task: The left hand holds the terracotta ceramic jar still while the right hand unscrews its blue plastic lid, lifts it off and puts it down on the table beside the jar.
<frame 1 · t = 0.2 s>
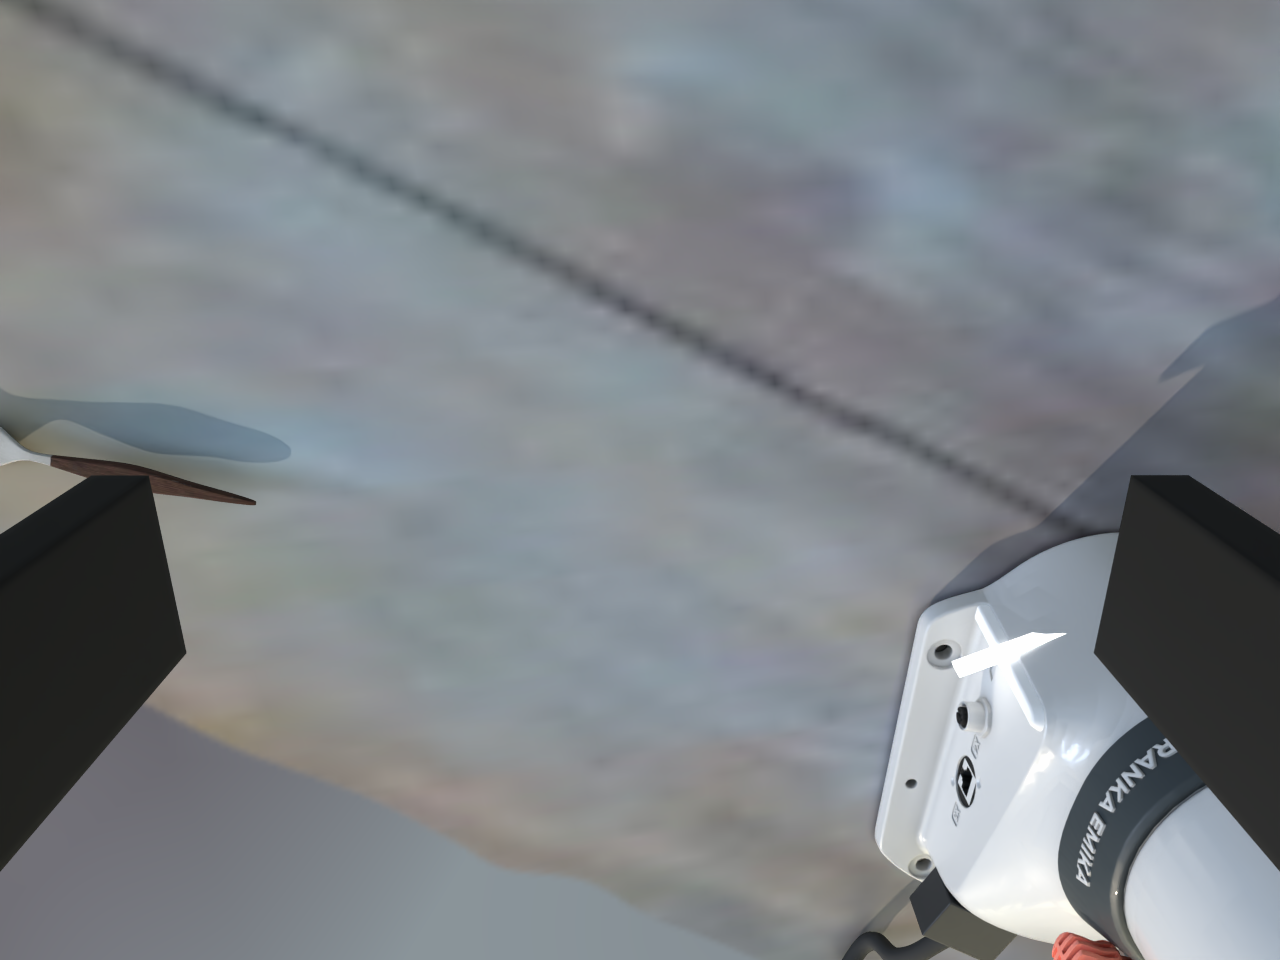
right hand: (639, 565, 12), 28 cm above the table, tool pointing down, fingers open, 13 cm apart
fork: (86, 460, 42), on the table
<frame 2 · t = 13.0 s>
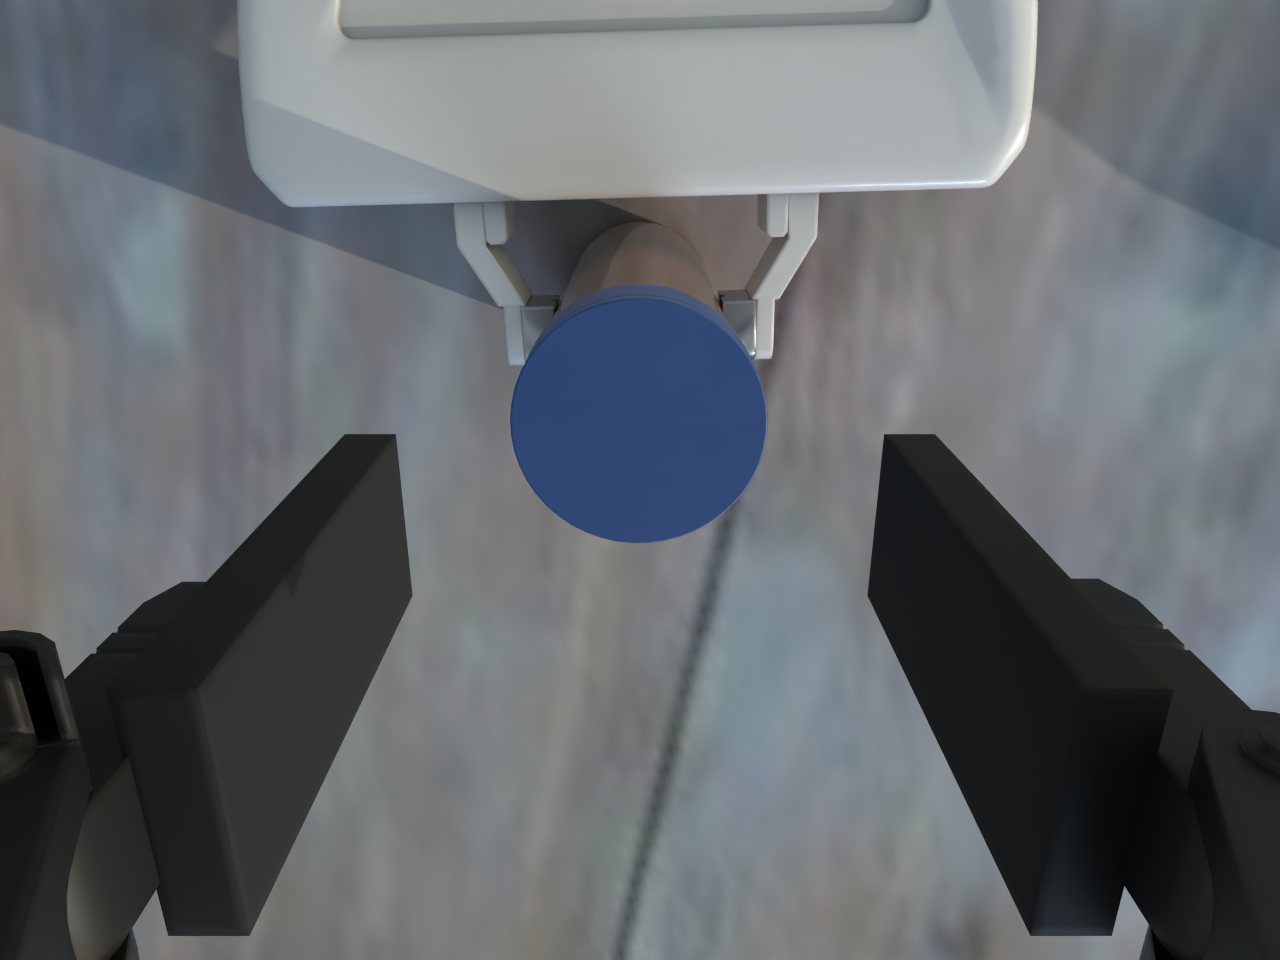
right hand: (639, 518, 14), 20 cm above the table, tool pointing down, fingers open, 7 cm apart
left hand: (641, 358, 27), fingers closed on jar, 5 cm apart
jar: (639, 290, 33), on the table, touching left hand
lid: (639, 421, 18), point 15 cm above the table, screwed on, not yet turned
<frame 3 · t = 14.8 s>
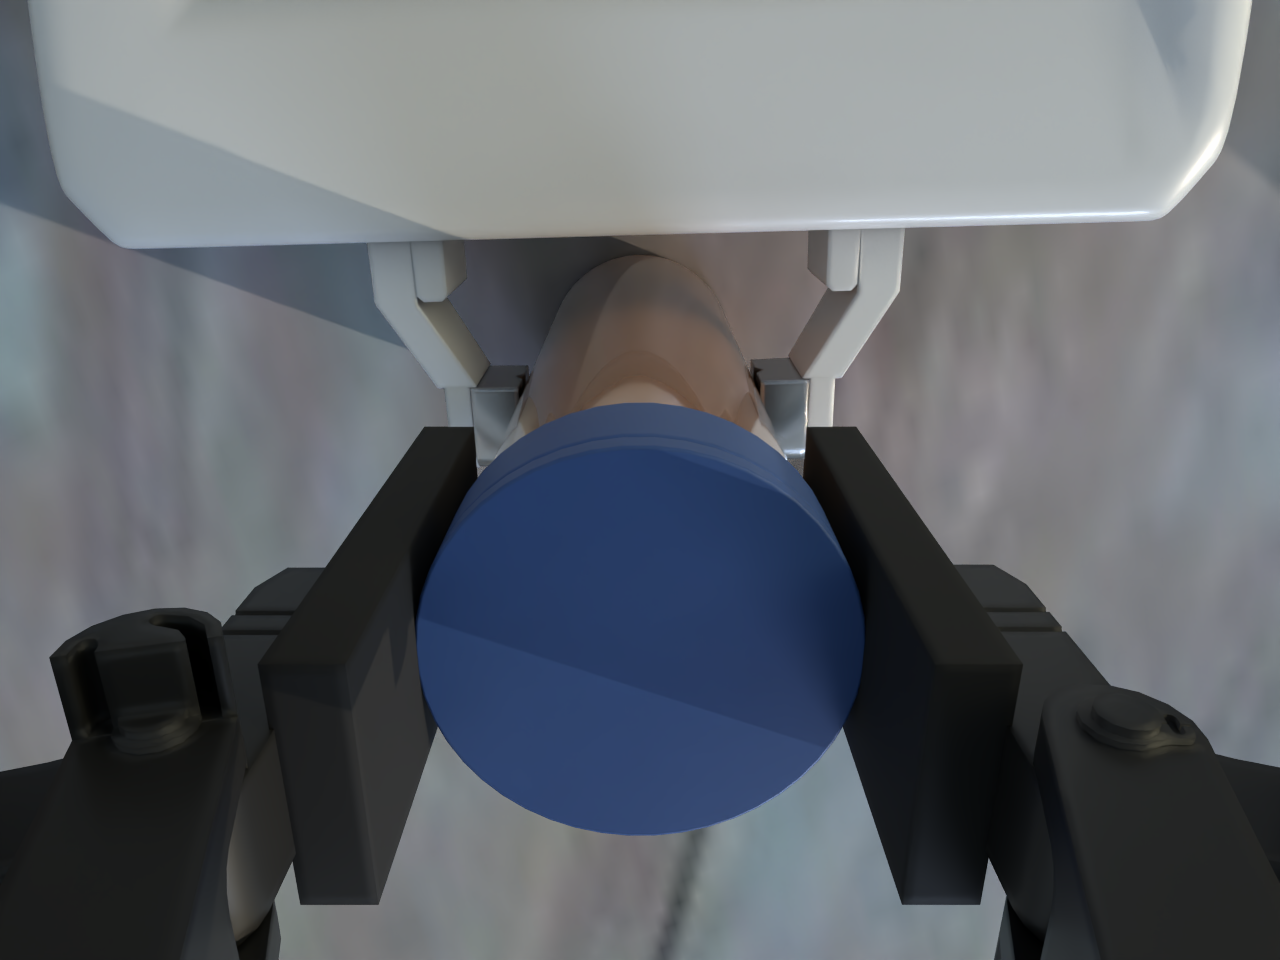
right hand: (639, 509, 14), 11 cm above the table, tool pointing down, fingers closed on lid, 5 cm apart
left hand: (643, 454, 19), fingers closed on jar, 5 cm apart
jar: (640, 344, 25), on the table, touching left hand
lid: (640, 643, 11), point 15 cm above the table, screwed on, not yet turned, touching right hand
when the right hand's fingers open (12 cm above the table, at t = 16.2 s): lid stays where it is, point 16 cm above the table.
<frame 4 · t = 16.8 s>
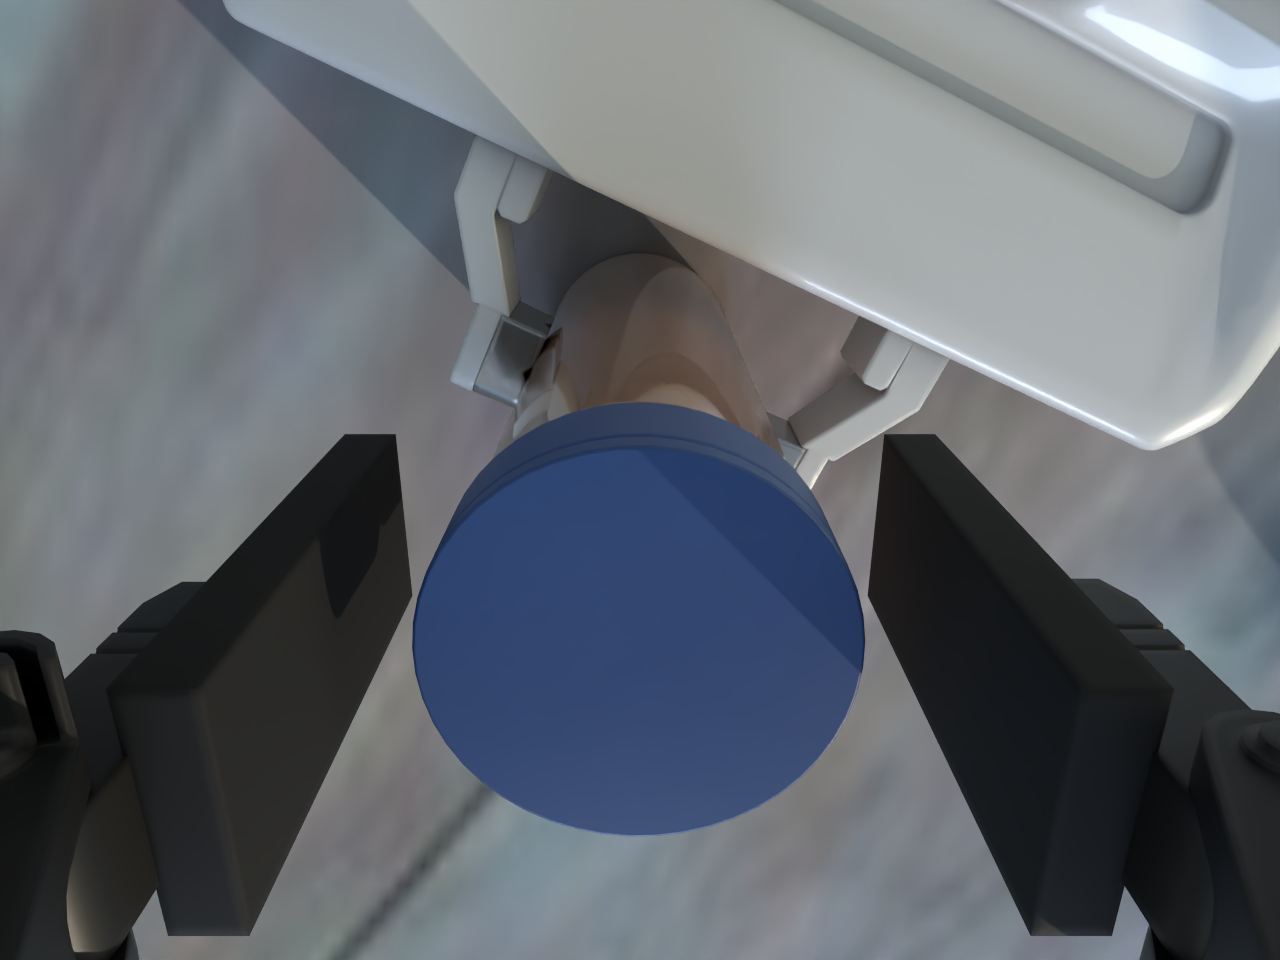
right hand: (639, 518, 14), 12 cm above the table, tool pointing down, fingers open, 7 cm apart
left hand: (623, 448, 19), fingers closed on jar, 5 cm apart
jar: (639, 342, 25), on the table, touching left hand
lid: (638, 643, 11), point 16 cm above the table, turned 87° so far, risen 0.2 cm, still on its thread
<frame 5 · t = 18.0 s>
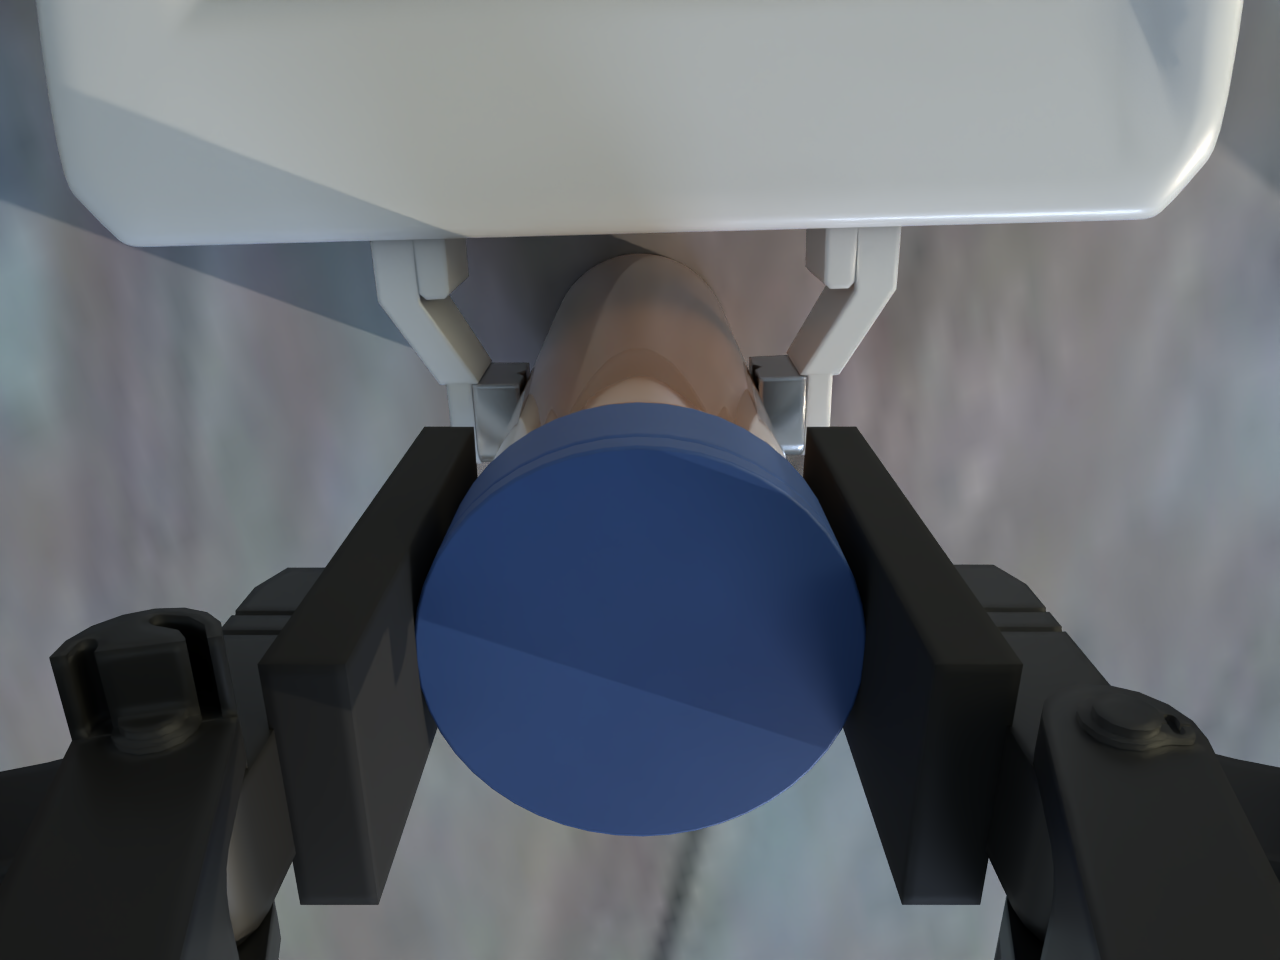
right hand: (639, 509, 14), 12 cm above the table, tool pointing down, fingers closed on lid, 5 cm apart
left hand: (643, 451, 19), fingers closed on jar, 5 cm apart
jar: (640, 342, 25), on the table, touching left hand
lid: (640, 643, 11), point 16 cm above the table, turned 87° so far, risen 0.2 cm, still on its thread, touching right hand
when the right hand's fingers open (0 cm above the table, at t = 24.5 s): lid drops 3 cm, point 1 cm above the table.
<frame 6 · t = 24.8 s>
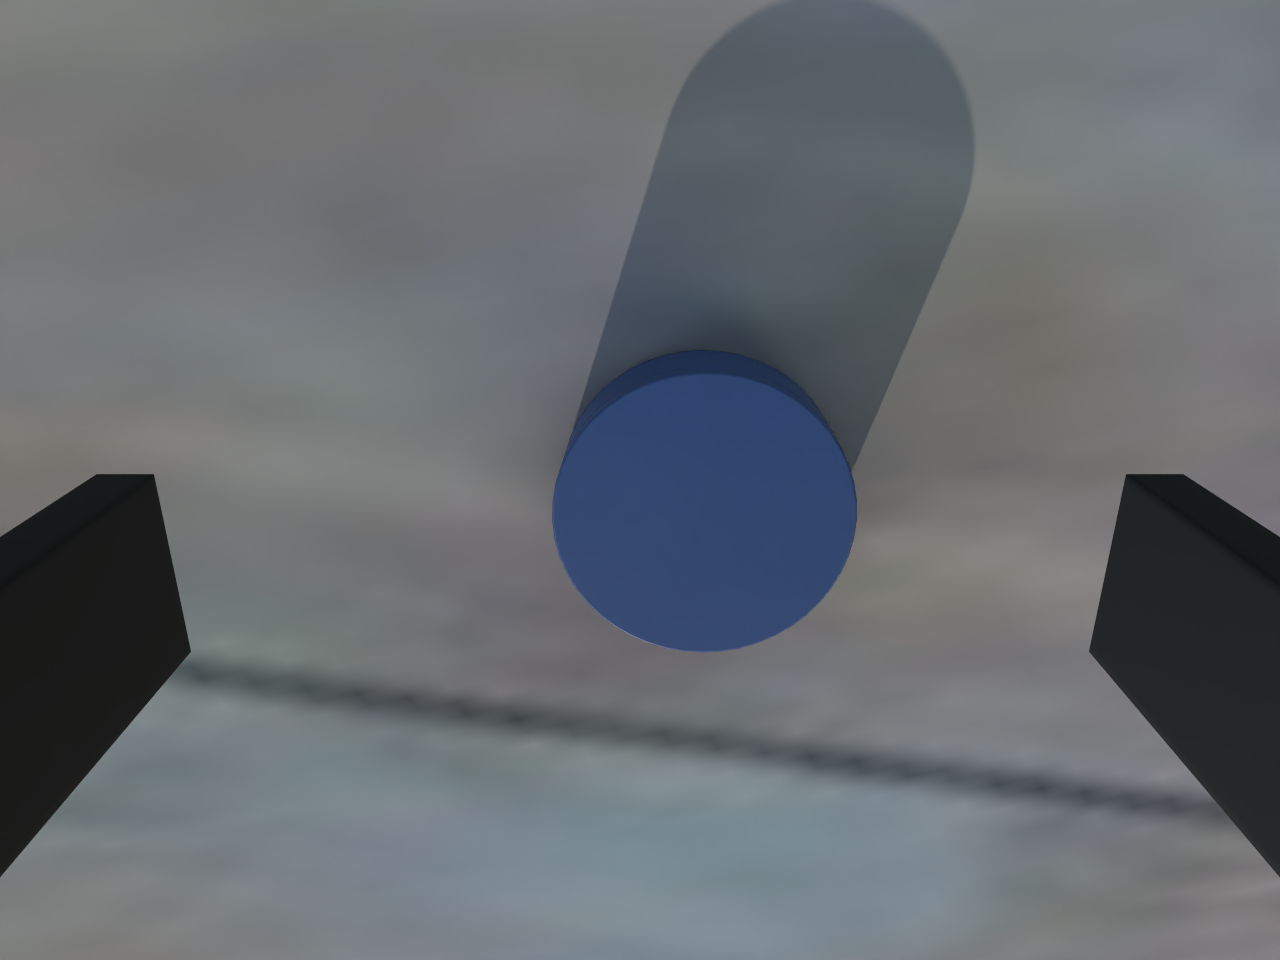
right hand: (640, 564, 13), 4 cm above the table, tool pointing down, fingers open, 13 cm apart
lid: (703, 512, 16), point 1 cm above the table, off its thread
when the left hand's fingers open (6 cm above the table, at t = 25.2 s): jar stays where it is, on the table.
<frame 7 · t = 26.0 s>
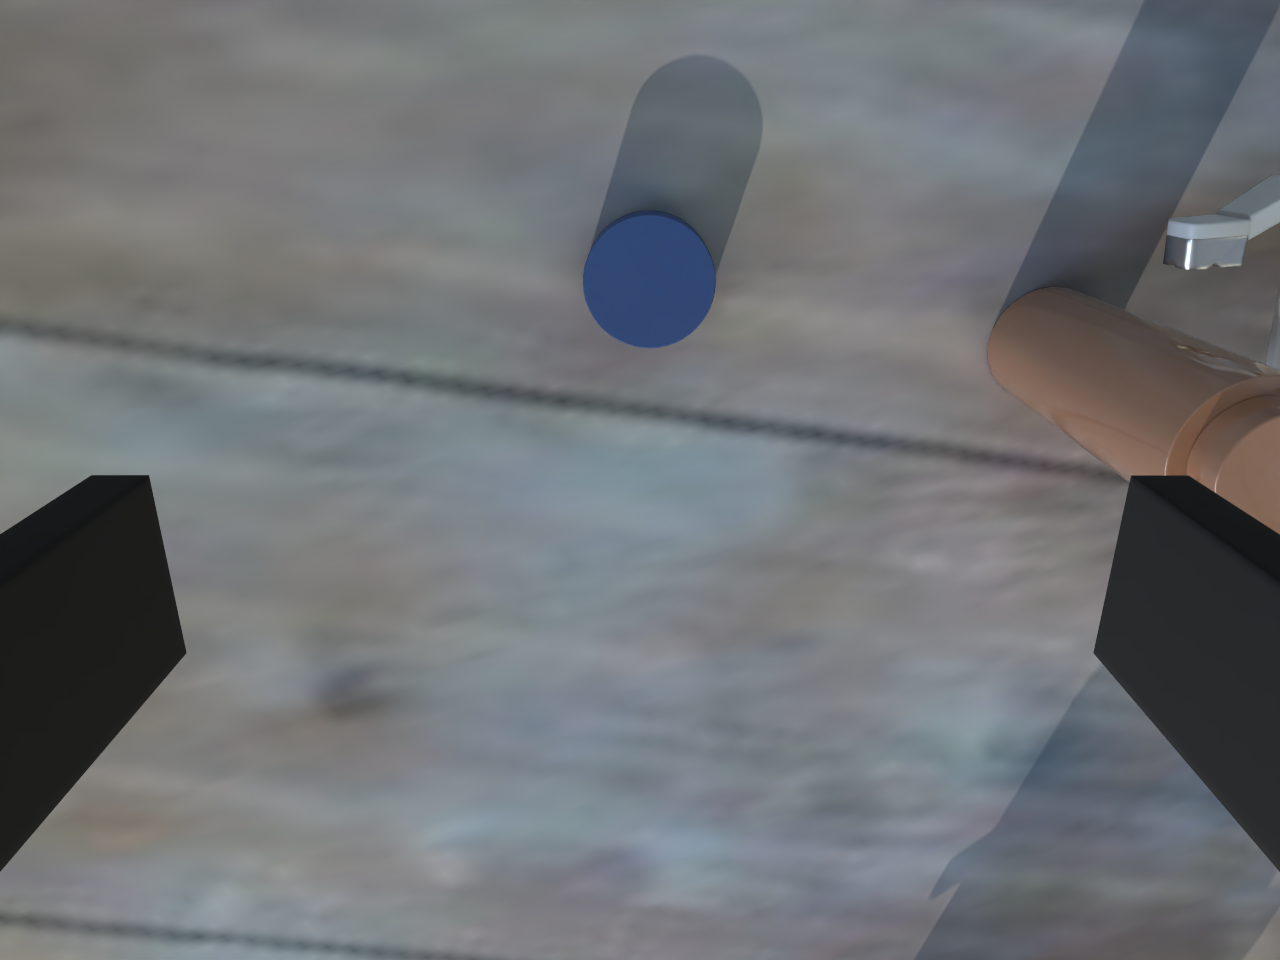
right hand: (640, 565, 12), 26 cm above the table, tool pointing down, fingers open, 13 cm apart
jar: (1045, 344, 38), on the table
lid: (649, 281, 36), point 1 cm above the table, off its thread
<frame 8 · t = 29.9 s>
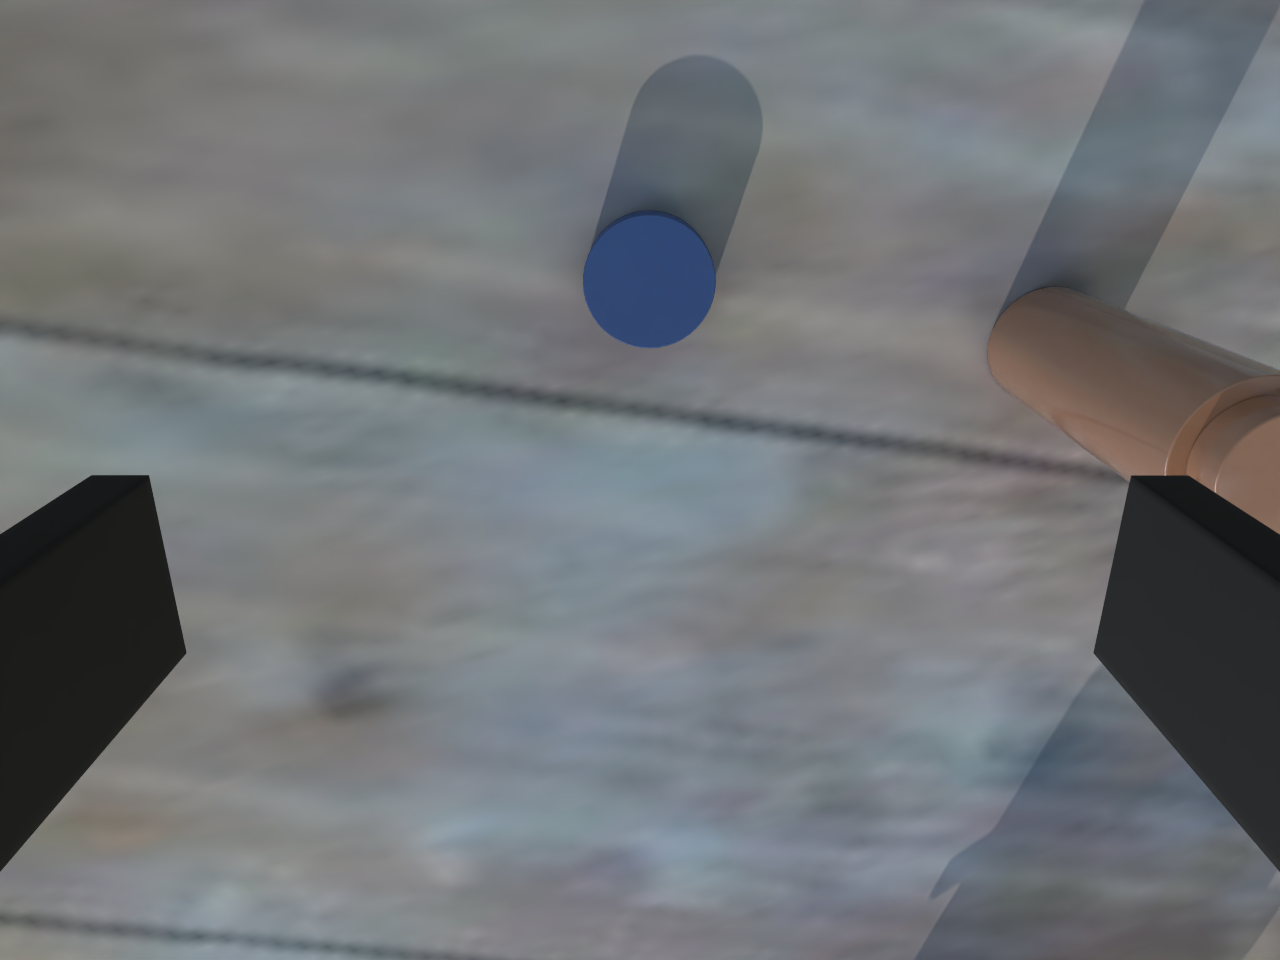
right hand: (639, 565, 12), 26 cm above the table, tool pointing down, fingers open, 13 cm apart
jar: (1045, 344, 38), on the table
lid: (649, 281, 36), point 1 cm above the table, off its thread
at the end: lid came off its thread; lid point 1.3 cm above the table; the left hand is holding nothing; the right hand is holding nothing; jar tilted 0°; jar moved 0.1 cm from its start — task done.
